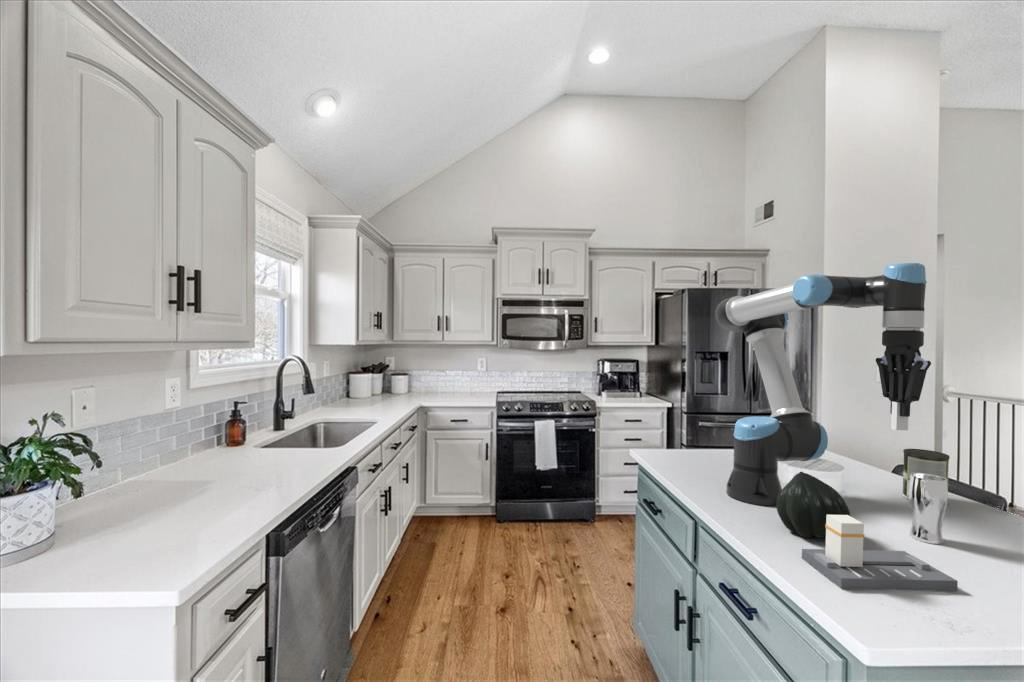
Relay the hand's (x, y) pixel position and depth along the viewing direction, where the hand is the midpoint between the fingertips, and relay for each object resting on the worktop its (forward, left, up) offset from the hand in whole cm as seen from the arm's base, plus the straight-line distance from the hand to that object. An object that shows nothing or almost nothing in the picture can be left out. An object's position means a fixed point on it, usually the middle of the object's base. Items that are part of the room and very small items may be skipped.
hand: (899, 429), depth 109 cm
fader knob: (+2, -28, -24) cm, 37 cm away
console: (+5, -23, -26) cm, 35 cm away
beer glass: (+3, +8, -27) cm, 28 cm away
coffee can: (-9, +43, -27) cm, 51 cm away
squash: (-12, -14, -27) cm, 32 cm away
